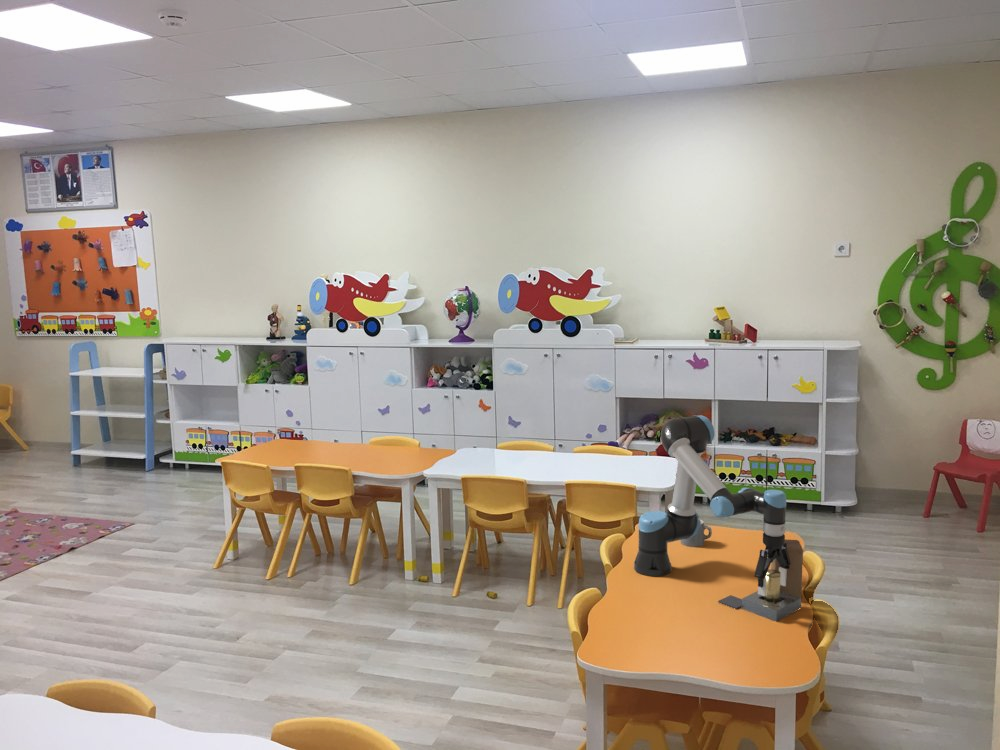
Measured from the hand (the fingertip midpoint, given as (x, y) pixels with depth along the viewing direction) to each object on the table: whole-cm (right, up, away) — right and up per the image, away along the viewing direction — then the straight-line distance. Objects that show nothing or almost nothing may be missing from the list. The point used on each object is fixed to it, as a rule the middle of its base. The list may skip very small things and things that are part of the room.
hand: (772, 590), depth 295 cm
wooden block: (+10, -5, +14) cm, 18 cm away
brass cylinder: (0, -7, +1) cm, 7 cm away
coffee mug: (-11, +2, +69) cm, 70 cm away
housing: (0, -7, +1) cm, 7 cm away
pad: (-12, -6, +7) cm, 15 cm away
